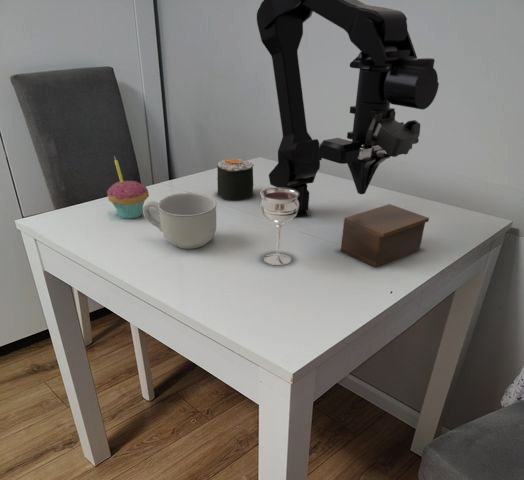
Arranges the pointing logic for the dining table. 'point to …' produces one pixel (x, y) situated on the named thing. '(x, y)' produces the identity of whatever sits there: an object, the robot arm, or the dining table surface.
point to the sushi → (235, 179)
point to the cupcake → (127, 196)
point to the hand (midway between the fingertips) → (361, 193)
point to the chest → (380, 244)
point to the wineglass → (279, 215)
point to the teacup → (185, 218)
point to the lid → (386, 220)
